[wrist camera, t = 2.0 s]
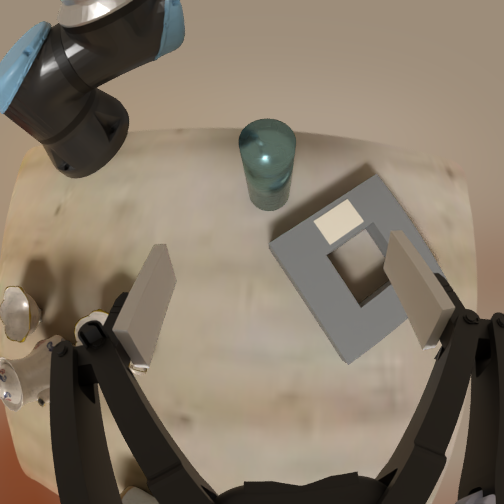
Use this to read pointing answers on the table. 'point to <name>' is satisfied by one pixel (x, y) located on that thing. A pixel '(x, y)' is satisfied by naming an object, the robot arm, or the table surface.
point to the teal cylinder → (268, 162)
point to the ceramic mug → (136, 496)
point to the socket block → (328, 279)
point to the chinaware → (39, 360)
